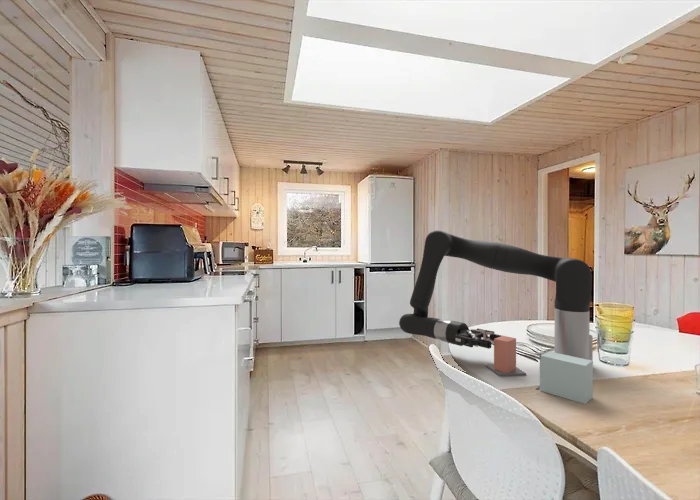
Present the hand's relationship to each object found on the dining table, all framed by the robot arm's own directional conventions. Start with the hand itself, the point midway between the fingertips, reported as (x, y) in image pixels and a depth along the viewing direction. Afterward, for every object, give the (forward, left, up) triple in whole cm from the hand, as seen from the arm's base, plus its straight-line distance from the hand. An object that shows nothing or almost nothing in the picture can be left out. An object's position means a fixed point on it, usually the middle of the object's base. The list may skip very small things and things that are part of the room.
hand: (497, 342), depth 102 cm
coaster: (-1, +2, -8) cm, 8 cm away
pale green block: (-8, +18, -8) cm, 21 cm away
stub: (-1, +2, -7) cm, 8 cm away
